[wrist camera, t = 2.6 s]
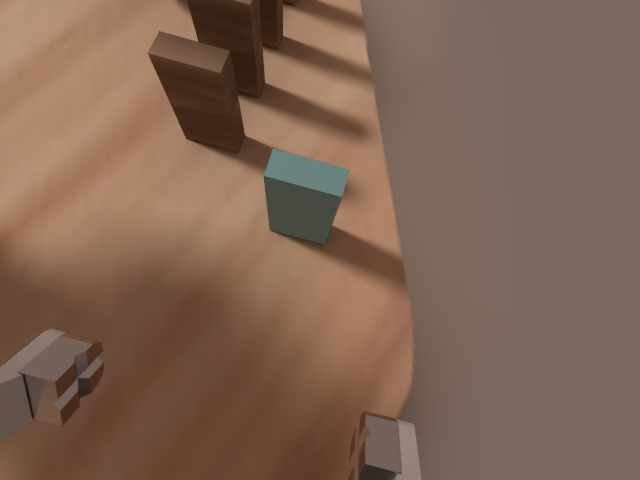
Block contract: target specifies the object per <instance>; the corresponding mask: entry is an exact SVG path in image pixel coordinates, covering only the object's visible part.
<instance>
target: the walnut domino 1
mask: <svg viewBox="0 0 640 480" xmlns="http://www.w3.org/2000/svg"><path fill="white" fill-rule="evenodd" d="M187 1H188V5H189V8H190V12H191V16H192V19H193V23H194V27H195V30H196V34H197V38H198V42H200V43H204V44H207V45H211V46H214V47H218V48H222V49H225V50H229V51H230V55H231V60H232V66H233V72H234V77H235V83H236V88H237V92H239V93H242V94H246V95H249V96H253V97H257V98H259V97H260V94H261V92H262V89H263V86H264V84H265V76H264V62H263V48H262V33H261V19H260V5H259V0H187Z"/></svg>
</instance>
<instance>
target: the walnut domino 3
mask: <svg viewBox="0 0 640 480" xmlns="http://www.w3.org/2000/svg"><path fill="white" fill-rule="evenodd" d="M259 5H260V19H261V33H262V45H264V46H267V47H271V48H275V49H278V47H279V44H280V41H281V39H282V36H283V0H259Z"/></svg>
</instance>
